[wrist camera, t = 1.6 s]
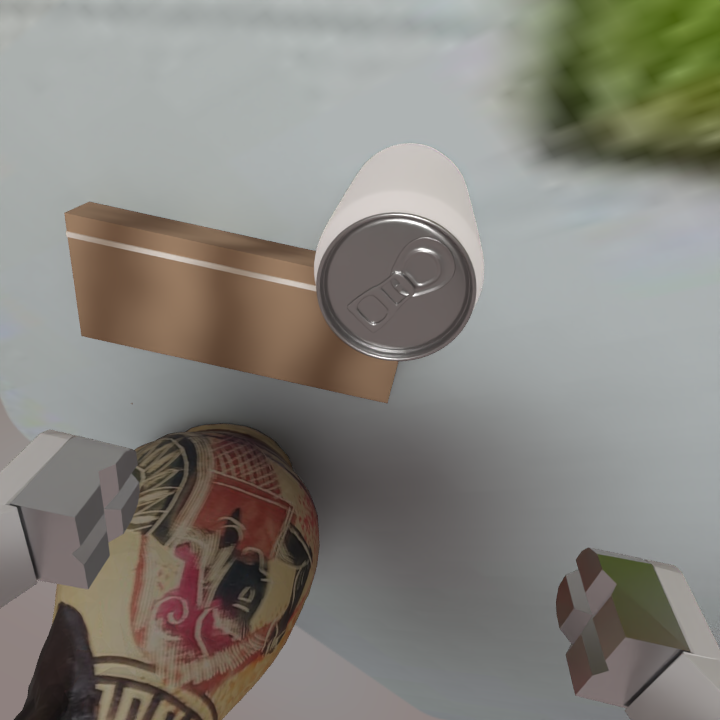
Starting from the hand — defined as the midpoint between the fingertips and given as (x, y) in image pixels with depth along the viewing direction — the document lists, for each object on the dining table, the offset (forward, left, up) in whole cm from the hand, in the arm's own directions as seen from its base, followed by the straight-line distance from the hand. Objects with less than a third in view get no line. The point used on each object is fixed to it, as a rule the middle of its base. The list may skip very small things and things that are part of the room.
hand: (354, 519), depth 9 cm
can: (0, 0, -22) cm, 22 cm away
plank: (+8, +8, -22) cm, 25 cm away
